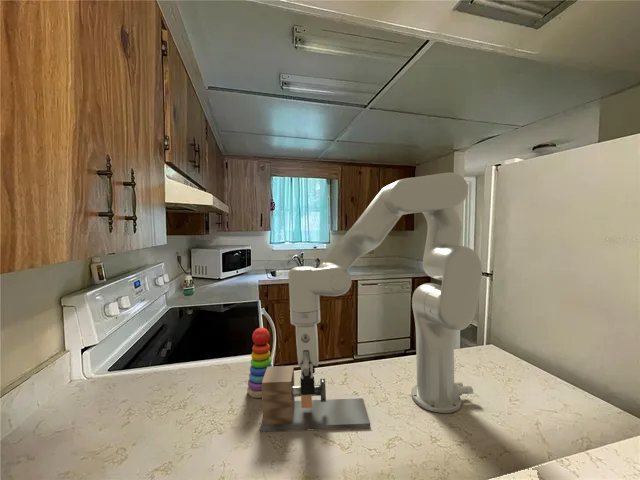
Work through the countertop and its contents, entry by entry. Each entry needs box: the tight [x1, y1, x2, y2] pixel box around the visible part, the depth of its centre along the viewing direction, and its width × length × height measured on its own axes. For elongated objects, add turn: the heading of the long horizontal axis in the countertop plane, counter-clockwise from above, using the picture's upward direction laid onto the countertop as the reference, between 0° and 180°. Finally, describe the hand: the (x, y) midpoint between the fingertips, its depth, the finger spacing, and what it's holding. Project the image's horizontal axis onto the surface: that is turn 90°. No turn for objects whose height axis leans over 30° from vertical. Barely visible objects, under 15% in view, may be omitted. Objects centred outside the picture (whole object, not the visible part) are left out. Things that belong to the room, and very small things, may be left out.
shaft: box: [292, 378, 327, 402], centre depth 69 cm, size 16×5×5 cm, turn 91°
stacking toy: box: [246, 327, 273, 399], centre depth 81 cm, size 8×8×19 cm
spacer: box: [300, 394, 313, 408], centre depth 69 cm, size 2×6×6 cm, turn 1°
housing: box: [259, 365, 371, 433], centre depth 70 cm, size 26×10×11 cm, turn 91°
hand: (308, 382), depth 70 cm, fingers open, 9 cm apart
